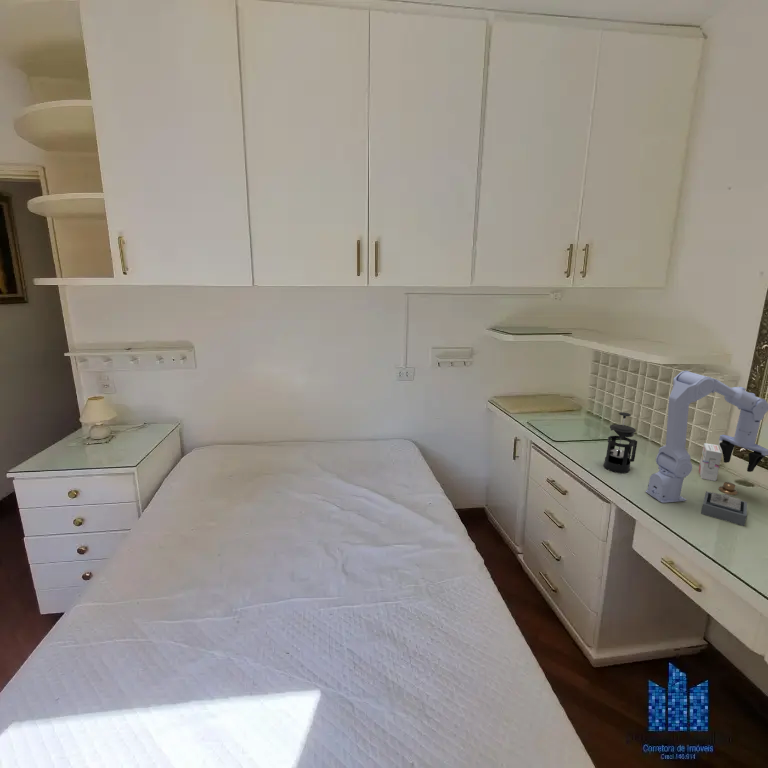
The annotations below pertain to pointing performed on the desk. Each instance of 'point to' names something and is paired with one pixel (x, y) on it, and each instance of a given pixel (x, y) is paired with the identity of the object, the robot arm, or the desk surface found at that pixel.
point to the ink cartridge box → (710, 461)
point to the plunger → (726, 497)
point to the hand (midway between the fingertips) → (737, 466)
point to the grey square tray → (724, 511)
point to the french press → (619, 455)
